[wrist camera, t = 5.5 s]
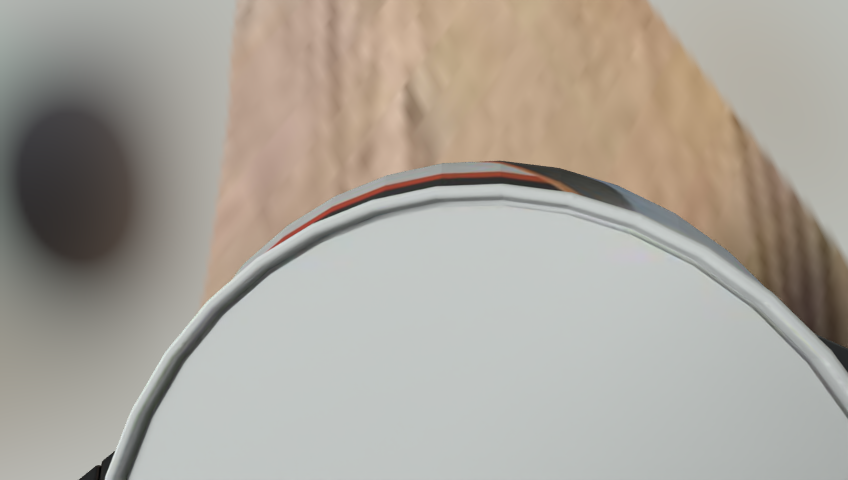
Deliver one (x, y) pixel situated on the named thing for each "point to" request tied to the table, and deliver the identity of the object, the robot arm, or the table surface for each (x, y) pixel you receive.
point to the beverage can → (491, 347)
